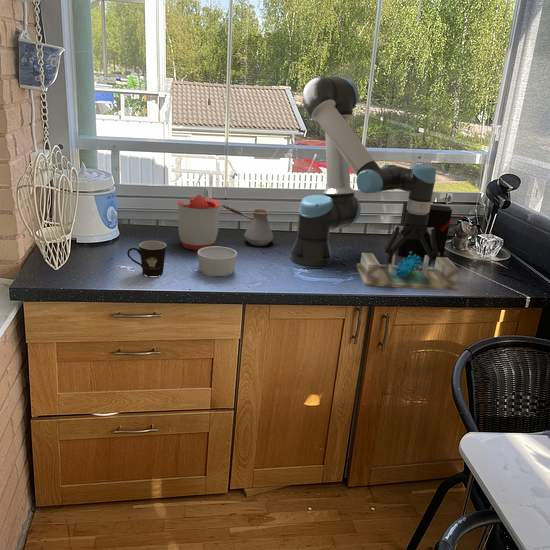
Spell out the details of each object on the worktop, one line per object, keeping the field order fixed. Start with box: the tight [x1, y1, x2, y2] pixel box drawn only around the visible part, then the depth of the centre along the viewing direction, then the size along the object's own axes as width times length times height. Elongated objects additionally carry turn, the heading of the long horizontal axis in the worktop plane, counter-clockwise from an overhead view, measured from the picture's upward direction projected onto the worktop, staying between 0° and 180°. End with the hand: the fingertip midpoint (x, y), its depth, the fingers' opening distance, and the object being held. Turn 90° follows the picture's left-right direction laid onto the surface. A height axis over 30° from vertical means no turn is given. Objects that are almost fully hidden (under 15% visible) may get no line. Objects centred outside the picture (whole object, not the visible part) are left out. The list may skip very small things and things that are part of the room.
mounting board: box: [355, 252, 460, 291], centre depth 198 cm, size 32×16×7 cm, turn 93°
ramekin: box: [197, 245, 238, 277], centre depth 192 cm, size 13×13×7 cm
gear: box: [395, 254, 422, 281], centre depth 198 cm, size 11×6×10 cm
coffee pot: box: [219, 204, 274, 247], centre depth 222 cm, size 21×12×15 cm, turn 99°
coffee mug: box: [127, 240, 167, 276], centre depth 185 cm, size 12×9×10 cm
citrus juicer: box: [177, 194, 221, 251], centre depth 213 cm, size 16×17×20 cm
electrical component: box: [395, 201, 453, 260], centre depth 223 cm, size 18×10×20 cm, turn 84°
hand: (407, 273), depth 198 cm, fingers open, 11 cm apart
